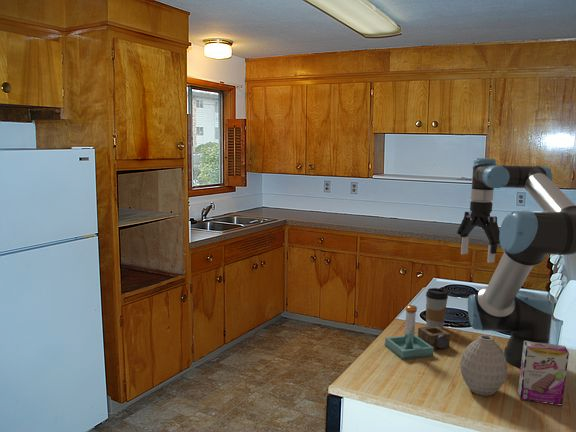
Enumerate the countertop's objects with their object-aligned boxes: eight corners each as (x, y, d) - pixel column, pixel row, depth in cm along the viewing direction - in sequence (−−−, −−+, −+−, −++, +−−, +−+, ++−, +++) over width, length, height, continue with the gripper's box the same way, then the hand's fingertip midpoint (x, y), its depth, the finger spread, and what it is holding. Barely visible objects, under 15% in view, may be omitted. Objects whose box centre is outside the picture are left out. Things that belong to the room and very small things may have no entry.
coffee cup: (429, 322, 207) (431, 286, 205) (449, 327, 202) (451, 290, 200) (420, 327, 201) (422, 290, 199) (440, 333, 196) (443, 295, 193)
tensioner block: (451, 348, 181) (453, 335, 180) (432, 351, 179) (433, 337, 178) (436, 338, 190) (437, 325, 189) (417, 340, 188) (418, 327, 187)
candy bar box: (520, 400, 146) (525, 346, 144) (517, 392, 151) (522, 339, 148) (563, 407, 143) (569, 351, 141) (559, 398, 148) (565, 344, 145)
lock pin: (416, 350, 177) (419, 308, 175) (406, 351, 176) (409, 309, 174) (410, 345, 181) (413, 304, 179) (401, 346, 180) (403, 305, 177)
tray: (433, 355, 175) (433, 347, 174) (402, 359, 171) (402, 351, 171) (414, 342, 186) (414, 334, 186) (385, 345, 183) (385, 337, 182)
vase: (512, 391, 151) (517, 338, 149) (492, 406, 143) (498, 350, 140) (471, 376, 160) (475, 325, 158) (450, 389, 152) (455, 336, 149)
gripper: (516, 205, 175) (511, 265, 178) (465, 196, 198) (461, 250, 201) (499, 205, 172) (494, 266, 175) (450, 197, 195) (446, 251, 198)
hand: (476, 258), depth 188 cm, fingers open, 13 cm apart
